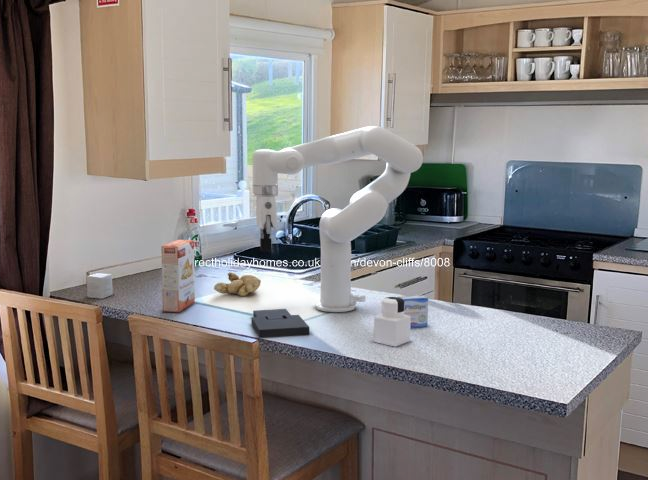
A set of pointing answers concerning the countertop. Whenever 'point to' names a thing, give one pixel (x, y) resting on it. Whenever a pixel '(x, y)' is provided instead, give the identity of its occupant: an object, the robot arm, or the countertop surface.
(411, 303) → the medicine box
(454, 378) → the countertop surface
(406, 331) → the medicine bottle
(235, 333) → the countertop surface
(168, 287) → the cracker box
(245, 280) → the ginger root
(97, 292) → the product box
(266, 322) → the notch pad
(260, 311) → the pad
